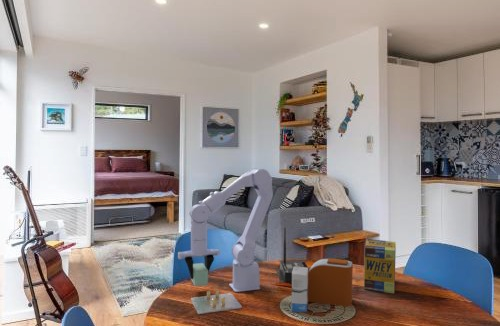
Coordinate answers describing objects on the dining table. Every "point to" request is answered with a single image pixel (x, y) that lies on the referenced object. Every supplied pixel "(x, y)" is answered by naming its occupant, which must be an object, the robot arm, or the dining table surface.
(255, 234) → the robot arm
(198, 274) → the mint green cuboid
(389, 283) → the protein box
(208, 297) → the standoff posts
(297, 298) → the ink box
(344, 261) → the brown toaster
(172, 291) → the dining table surface
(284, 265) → the wireless controller
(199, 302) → the plate
